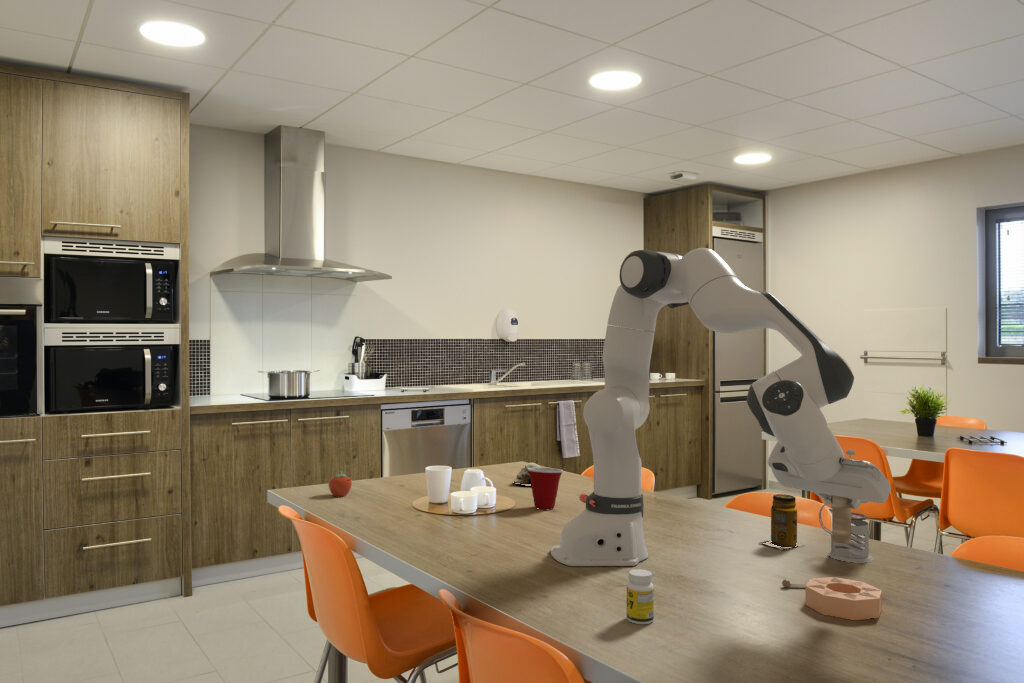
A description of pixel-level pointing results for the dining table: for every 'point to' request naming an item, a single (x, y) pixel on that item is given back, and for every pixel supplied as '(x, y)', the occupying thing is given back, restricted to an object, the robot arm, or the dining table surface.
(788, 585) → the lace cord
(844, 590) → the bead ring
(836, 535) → the needle dowel
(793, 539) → the condiment
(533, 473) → the plastic cup
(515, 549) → the dining table surface
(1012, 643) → the dining table surface
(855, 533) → the french press
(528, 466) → the grey rounded lump
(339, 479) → the tomato
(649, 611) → the supplement bottle
